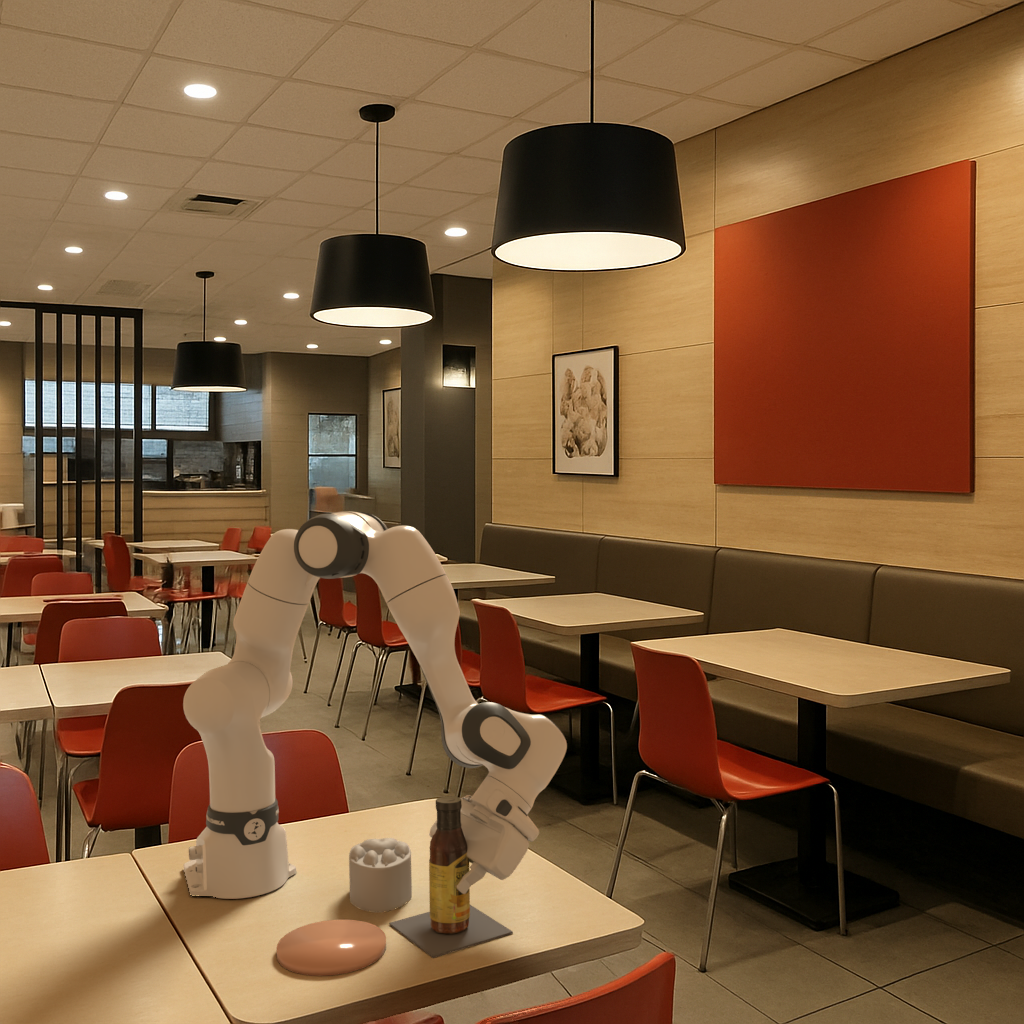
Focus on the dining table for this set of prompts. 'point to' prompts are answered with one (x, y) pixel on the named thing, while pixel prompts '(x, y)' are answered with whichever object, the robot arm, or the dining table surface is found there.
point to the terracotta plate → (331, 947)
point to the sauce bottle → (448, 869)
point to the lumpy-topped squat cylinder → (380, 874)
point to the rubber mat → (440, 943)
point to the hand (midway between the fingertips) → (445, 882)
